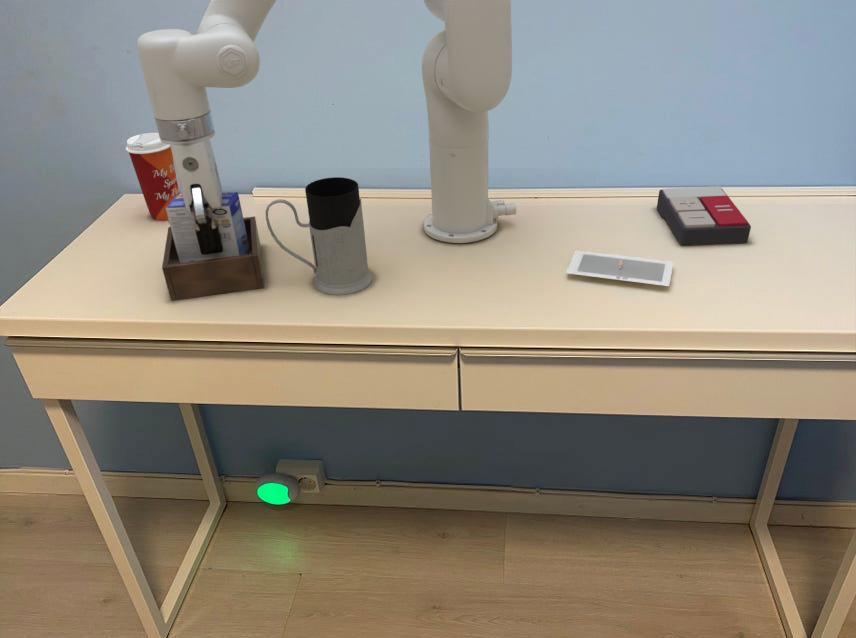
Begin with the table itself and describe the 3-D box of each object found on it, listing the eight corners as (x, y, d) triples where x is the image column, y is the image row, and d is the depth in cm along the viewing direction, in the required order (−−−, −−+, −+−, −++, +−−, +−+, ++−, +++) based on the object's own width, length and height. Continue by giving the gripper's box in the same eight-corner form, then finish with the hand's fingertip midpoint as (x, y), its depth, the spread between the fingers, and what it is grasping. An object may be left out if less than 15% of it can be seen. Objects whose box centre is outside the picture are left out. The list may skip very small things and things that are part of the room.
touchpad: (575, 256, 119) (576, 244, 118) (672, 268, 115) (674, 255, 113) (565, 279, 113) (566, 266, 111) (668, 292, 109) (670, 279, 107)
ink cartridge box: (254, 262, 120) (236, 176, 112) (246, 279, 116) (227, 190, 107) (193, 264, 120) (171, 178, 112) (183, 281, 116) (159, 192, 107)
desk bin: (260, 246, 125) (255, 216, 122) (264, 288, 113) (257, 255, 110) (176, 257, 123) (168, 226, 119) (171, 300, 111) (161, 267, 108)
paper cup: (175, 223, 134) (155, 146, 126) (136, 221, 135) (114, 144, 127) (196, 206, 140) (178, 132, 132) (158, 204, 141) (139, 130, 133)
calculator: (684, 225, 118) (659, 185, 130) (679, 249, 121) (655, 207, 133) (753, 222, 119) (722, 182, 130) (747, 246, 121) (717, 205, 133)
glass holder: (374, 291, 111) (364, 196, 103) (277, 301, 110) (259, 205, 101) (370, 264, 119) (360, 173, 110) (279, 273, 117) (262, 181, 108)
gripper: (212, 142, 99) (238, 264, 109) (213, 106, 112) (237, 217, 123) (152, 149, 97) (185, 271, 107) (162, 111, 111) (189, 223, 121)
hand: (212, 241), depth 115 cm, fingers closed on ink cartridge box, 6 cm apart
